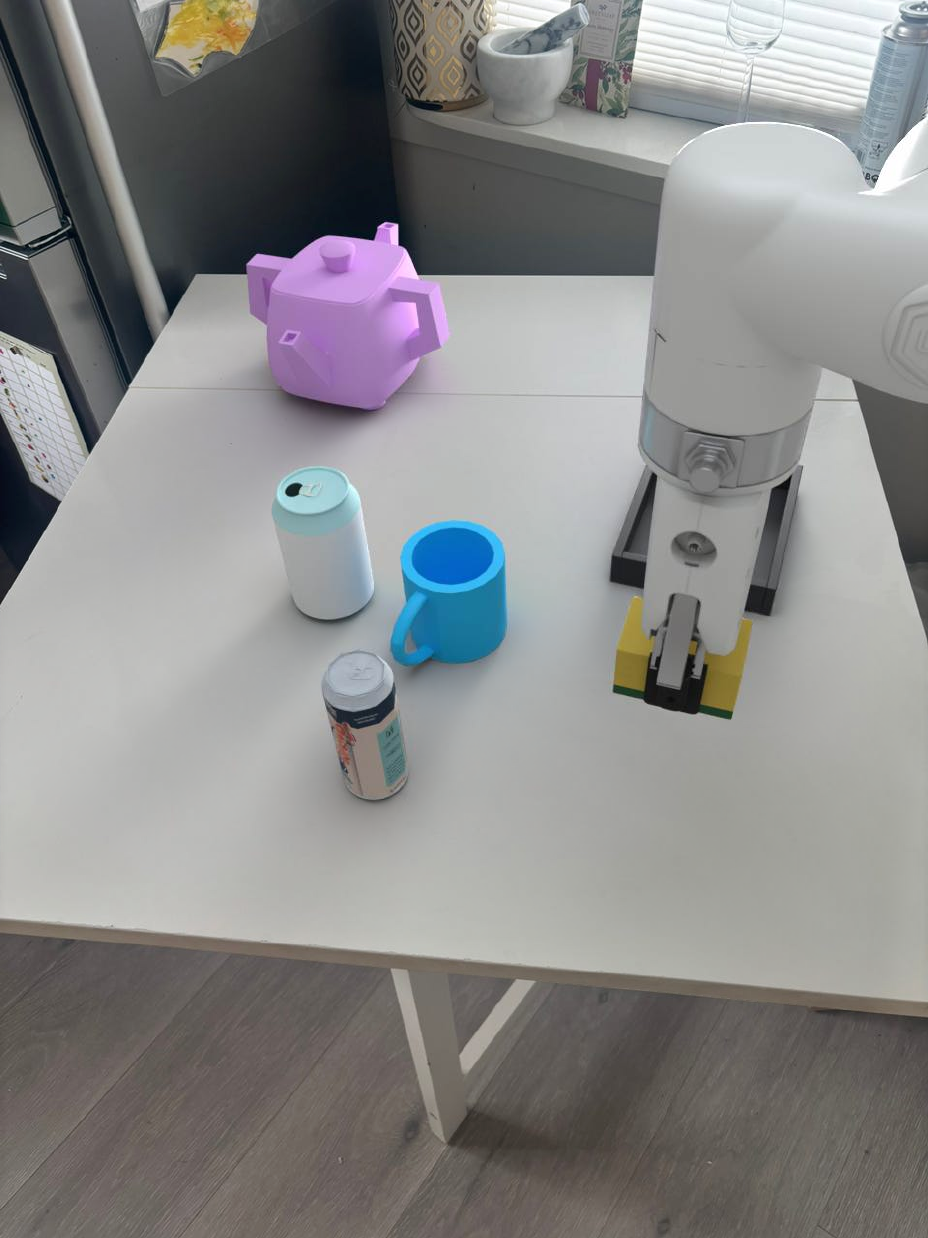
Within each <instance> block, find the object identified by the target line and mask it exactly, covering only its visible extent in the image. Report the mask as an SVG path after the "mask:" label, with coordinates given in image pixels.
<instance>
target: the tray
mask: <svg viewBox="0 0 928 1238" xmlns="http://www.w3.org/2000/svg"><path fill="white" fill-rule="evenodd" d="M803 470H804V465H803V464H798V466H797V468H796V469H795V471H794V473H793V474H792V475H790V477H789V478H788V479H787V480H785V481H784V482H782V483H781V484H779V485H777V486H775V487H773V488H772V489H771V494H770V500H769V505H768V510H767V514H766V519H765V524H764V528H763V532H762V537H761V541H760V545H759V550H758V554H757V558H756V562H755V566H754V571H753V575H752V579H751V584H750V588H749V592H748V596H747V601H746V605H745V609H744V611H747V612H751V613H754V614H759V615H764V616H769V617H770V616H771V614H772V609H773V606H774V602H775V599H776V594H777V591H778V586H779V581H780V577H781V572H782V567H783V562H784V559H785V554H786V550H787V544H788V539H789V535H790V531H791V525H792V521H793V516H794V513H795V507H796V503H797V498H798V494H799V488H800V484H801V480H802V476H803ZM656 483H657V475H656V474H655V473H654V472H653V471H652V470H650V468H649V467H648V466H647V465H646V464H645V466H644V469H643V471H642V474H641V477H640V480H639V482H638V485H637V488H636V490H635V492H634V495H633V498H632V501H631V503H630V505H629V509H628V512H627V514H626V517H625V519H624V522H623V525H622V527H621V530H620V533H619V535H618V538H617V540H616V543H615V545H614V548H613V551H612V553H611V559H610V572H609V574H610V575H609V582H611V583H617V584H621V585H626V586H630V587H636V588H640V589H644V582H645V573H646V564H647V554H648V546H649V538H650V529H651V521H652V513H653V506H654V498H655V491H656Z"/></svg>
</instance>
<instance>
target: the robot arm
mask: <svg viewBox="0 0 928 1238" xmlns="http://www.w3.org/2000/svg"><path fill="white" fill-rule="evenodd" d="M660 200H661V201H660V207H659V208H660V209H659V210H660V211H659V219H658V230H657V238H656V239H657V241H656V250H655V260H654V261H655V262H654V269H653V270H654V271H653V280H652V292H651V302H650V313H649V322H648V323H649V324H648V333H647V343H646V353H645V354H646V356H645V363H644V364H645V365H644V375H643V385H642V386H643V387H642V395H641V396H642V397H641V406H640V417H639V419H640V420H639V428H638V436H637V449H638V451H639V455H640V457H641V459H642V460H643V462H644V464H645V466H646V465H647V466H648V467H649V468H650V470H652V471H653V472H654V473H655V474H656V475H657V483H656V491H655V498H654V506H653V513H652V521H651V529H650V538H649V546H648V554H647V564H646V573H645V582H644V588H643V593H642V594H643V595H642V598H643V605H642V619H641V629H642V631H643V633H644V635H645V636H646V637H647V638H648V639H649V640H651V637H655V640H654V646H653V652H650V655H649V659H648V667H647V674H646V682H645V689H644V697H643V700H642V701H643V702H644V703H645V704H646V705H649V706H654V707H658V708H661V709H663V710H666V711H671V712H680V713H683V714H688V715H693V716H694V715H697V714H699V713H698V712H699V708H700V704H701V699H702V694H703V689H704V684H705V679H706V674H707V669H708V664H704V659H705V654H706V650H707V651H708V653H711V654H717V655H721V656H725V655H727V654H729V653H730V652H732V651H733V650H734V648H735V646H736V642H737V638H738V634H739V630H740V625H741V621H742V619H743V616H744V613H745V610H744V609H745V605H746V601H747V596H748V592H749V588H750V584H751V579H752V575H753V571H754V566H755V562H756V558H757V554H758V550H759V545H760V541H761V537H762V532H763V528H764V524H765V519H766V514H767V510H768V505H769V500H770V494H771V489H772V488H773V487H775V486H777V485H779V484H781V483H782V482H784V481H785V480H787V479H788V478H789V477H790V475H792V474H793V473H794V471H795V469H796V468H797V466H798V465H800V462H801V457H802V452H803V448H804V446H805V441H806V436H807V433H808V429H809V425H810V421H811V418H812V413H813V408H814V405H815V399H816V398H817V397H816V396H817V392H818V390H819V385H820V381H821V376H822V372H823V369H825V370H828V371H831V372H833V373H836V374H838V375H840V376H843V377H846V378H848V379H850V380H853V381H855V382H858V383H859V384H863V385H866V386H868V387H870V388H872V389H875V390H878V391H881V392H883V393H886V394H889V395H892V396H894V397H898V398H901V399H905V400H909V401H912V402H916V403H921V404H927V405H928V116H927V117H925V118H924V119H922V120H921V121H919V122H918V123H917V124H916V125H915V126H914V127H912V129H911V130H910V131H909V132H908V133H907V134H906V135H905V137H904V138H902V139H901V140H900V142H899V143H898V144H897V145H896V146H895V148H894V149H893V150H892V152H891V154H890V155H889V156H888V158H887V160H886V161H885V163H884V165H883V167H882V170H881V171H880V174H879V177H878V179H877V182H876V184H875V187H874V188H873V187H871V186H869V184H867V182H866V179H865V175H864V171H863V167H862V165H861V163H860V161H859V160H858V157H857V156H856V154H855V153H854V152H853V151H852V150H851V149H850V148H849V147H848V146H847V145H846V144H845V143H844V142H842V141H841V140H839V139H838V138H836V137H835V136H833V135H831V134H829V133H826V132H823V131H821V130H818V129H814V128H811V127H808V126H802V125H799V124H793V123H792V124H791V123H785V122H774V121H773V122H772V121H758V122H757V121H755V122H742V123H735V124H729V125H723V126H720V127H717V128H713V129H711V130H709V131H705V132H703V133H701V134H700V135H698V136H696V137H695V138H693V139H692V140H690V141H689V142H687V143H686V144H685V145H684V146H683V147H682V148H681V149H680V150H679V151H678V153H676V155H675V156H674V158H673V159H672V161H671V163H670V164H669V167H668V169H667V172H666V175H665V177H664V180H663V186H662V193H661V199H660ZM695 620H697V621H695ZM691 641H695V642H697V647H696V652H695V655H693V654H688V652H689V647H690V643H691Z"/></svg>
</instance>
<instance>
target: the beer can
mask: <svg viewBox="0 0 928 1238" xmlns="http://www.w3.org/2000/svg"><path fill="white" fill-rule="evenodd" d="M320 685H321V686H320V687H321V694H322V698H323V701H324V705H325V710H326V713H327V718H328V721H329V722H328V723H329V725H330V729H331V733H332V737H333V741H334V745H335V750H336V754H337V757H338V760H339V765H340V769H341V774H342V777H343V781H344V783H345V785H346V787H347V789H348V790H349V791H350V793H352V794H353V795H354V796H356V797H358V798H361V799H364V800H372V801H375V800H382V799H386V798H388V797H391V796H392V795H394V794H396V793H397V792H398V791H400V789H401V788H402V787H403V786H404V785H405V783H406V781H407V778H408V776H409V763H408V757H407V751H406V745H405V738H404V732H403V727H402V726H403V725H402V721H401V712H400V708H399V707H400V706H399V701H398V694H397V690H396V683H395V678H394V673H393V670H392V668H391V666H390V665H389V664H388V663H387V662H386V661H385V660H384V659H382V658H381V657H380V656H379V655H377V653H376V652H371V651H369V650H364V649H360V648H358V649H354V650H350V651H347V652H343V653H340V654H339V655H337V657H335V658H334V659H333V660H332V661H331V662H330V663H328V665H327V667H326V669H325V671H324V674H323V675H322V678H321V684H320Z"/></svg>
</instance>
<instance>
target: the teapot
mask: <svg viewBox="0 0 928 1238" xmlns="http://www.w3.org/2000/svg"><path fill="white" fill-rule="evenodd" d="M376 227H377V231H376V233H375V236H374V239H373V240H370V239H365V238H357V237H349V236H339V235H324V236H322V237H320V238H317V239H315V240H314V241H313V242H311V243H310V244H308V245H307V246H305V247H304V248H303V249H301V250H300V251H299V252H298V253H297V254H296V255H294V256H293V257H292V258H289V257H281V256H276V255H268V254H263V253H262V254H261V253H256V254H255V255H254V256H253V257H252V258H251V259H250V260H249V261H248V262H247V263H246V264H245V266H246V277H247V279H246V280H247V291H248V303H249V314H250V315H252V316H253V317H255V318H256V319H257V320H259V321H260V322H262V323H263V324H264V325H266V348H267V358H268V359H267V360H268V364H269V368H270V369H269V370H270V372H271V374H272V377H273V378H274V379H275V382H277V384H278V385H279V386H280V387H281V388H282V390H283V391H284V392H286V393H288V394H291V395H293V396H298V397H301V398H306V399H310V400H313V401H318V402H323V403H329V404H333V405H339V406H346V407H352V408H359V409H362V410H365V411H374V410H379V409H381V408H382V407H384V405H385V404H386V400H387V399H389V398H390V397H391V396H392V395H393V394H395V392H396V391H398V389H400V387H402V386H403V384H404V383H405V382H406V381H407V380H408V379H409V378H410V376H411V375H412V373H413V372H414V371H415V369H416V367H417V365H418V363H419V361H420V360H421V357H424V356H426V355H428V354H430V353H432V352H435V351H437V350H439V349H441V348H442V347H443V346H444V345H445V344H446V342H447V341H448V339H449V338H450V337H451V332H450V327H449V323H448V319H447V313H446V309H445V304H444V300H443V295H442V291H441V286H440V282H437V281H430V280H425V279H420V278H419V276H418V273H417V271H416V268H415V267H414V264H413V262H412V258H411V257H410V255H409V253H408V251H407V249H406V248H405V247H404V246H401V245H399V224H398V223H395V222H388V221H385V222H384V223H382V224H380V225H378V226H376Z"/></svg>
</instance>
